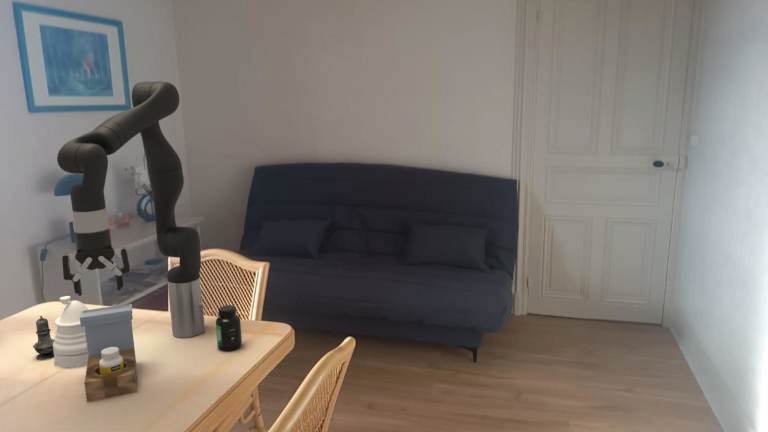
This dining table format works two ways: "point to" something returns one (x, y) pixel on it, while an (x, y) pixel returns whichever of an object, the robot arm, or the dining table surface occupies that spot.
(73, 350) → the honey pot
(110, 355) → the supplement bottle
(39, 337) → the dark grey chess piece
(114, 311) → the wall
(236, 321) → the supplement bottle
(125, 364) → the socket
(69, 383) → the dining table surface
